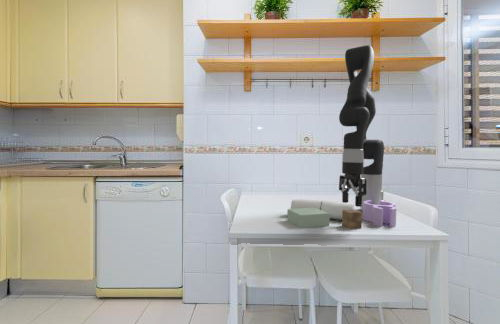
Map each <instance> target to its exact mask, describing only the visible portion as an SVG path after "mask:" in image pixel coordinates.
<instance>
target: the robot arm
mask: <svg viewBox="0 0 500 324" xmlns="http://www.w3.org/2000/svg"><path fill="white" fill-rule="evenodd" d="M374 53H375V52H374V49H373V47H372V46H371V45H370V44H368V45H362V46H357V47H353V48H347V49H346V51H345V54H344V60H345V61H344V62H345V65H346V71H347V76H348V82H349V85H348V88H347V95H346V100H345V102H344V105H343V106H342V107H341V109H340V111H339V114H338V115H339V117H338V119H339V123H340V124H341V126H343V127H355V128H356V130H355V131H352V132H348V133H345V134H344V135H343V150H342V158H341V160H342V161H341V163H342V164H341V166H342V167H341V173H342V175H341V174H340V175H339V179H338V180H339V181H338V182H339V183H338V191H341V193H342V195H341V196H342V199H341V200H342V201H341V202H343V203H349V196H350V195H349V191H350V190H351V189H352V192H354V194H355V198H354V200H355V202H354V203H355V204H354V207H356V208H357V207H359V208H360V209H359V211H361V212H363V202H364V201H366V200H371V201H372V204H374V205H380V201H382V200H384V190H382V189H383V169H384V168H383V167H384V155H385V145H384V142H383V140H382V139H368V138H367V131H368V129H369V126H370V125H371V123H372V122H373V120H374V118H375V116H376V112H377V109H376V101H375V97H374V95H373V93H372V92H371V91H370V89H368V85H369V81H370V79H371V78H370V77H371V75H372V71H373V67H374V63H375V54H374ZM357 71H359V72H357ZM364 160H373V162H372V163H370V165H366V166H364V163H365V162H364Z"/></svg>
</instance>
